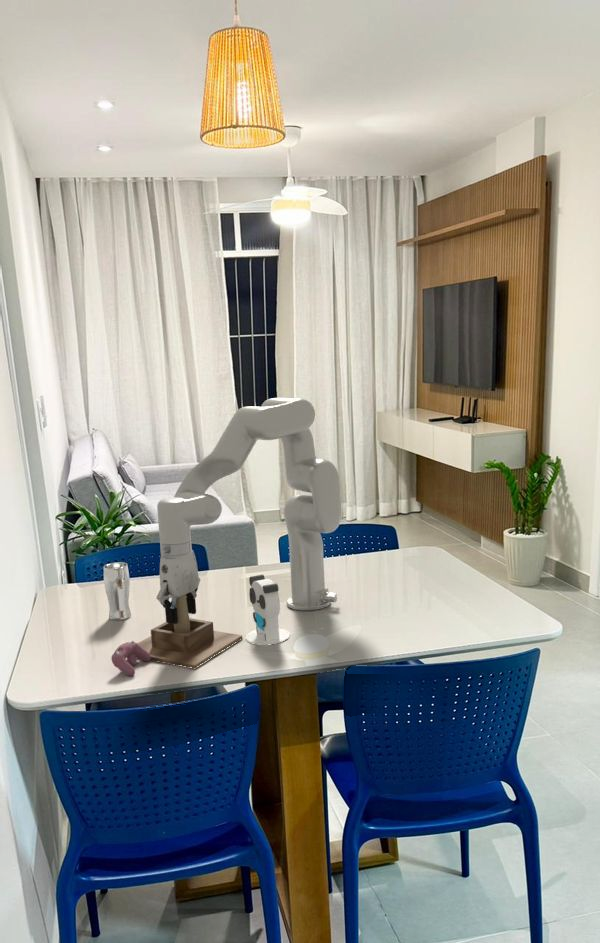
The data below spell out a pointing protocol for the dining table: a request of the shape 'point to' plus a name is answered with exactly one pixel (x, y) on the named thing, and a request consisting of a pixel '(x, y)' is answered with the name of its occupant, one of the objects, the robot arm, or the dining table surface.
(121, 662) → the video game controller
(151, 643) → the holder
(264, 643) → the panda figurine
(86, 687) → the dining table surface
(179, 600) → the handle
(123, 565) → the beer glass
